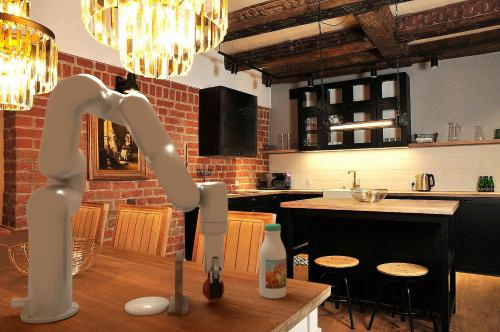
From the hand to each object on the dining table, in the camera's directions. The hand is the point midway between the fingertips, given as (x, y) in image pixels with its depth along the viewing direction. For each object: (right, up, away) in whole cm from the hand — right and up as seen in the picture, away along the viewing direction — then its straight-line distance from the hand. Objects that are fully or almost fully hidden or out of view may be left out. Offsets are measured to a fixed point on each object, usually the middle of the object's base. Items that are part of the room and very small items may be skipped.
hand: (214, 292), depth 99 cm
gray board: (-9, -3, -2) cm, 10 cm away
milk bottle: (+16, -3, +6) cm, 17 cm away
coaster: (-17, -3, -4) cm, 18 cm away
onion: (0, -3, 0) cm, 3 cm away
